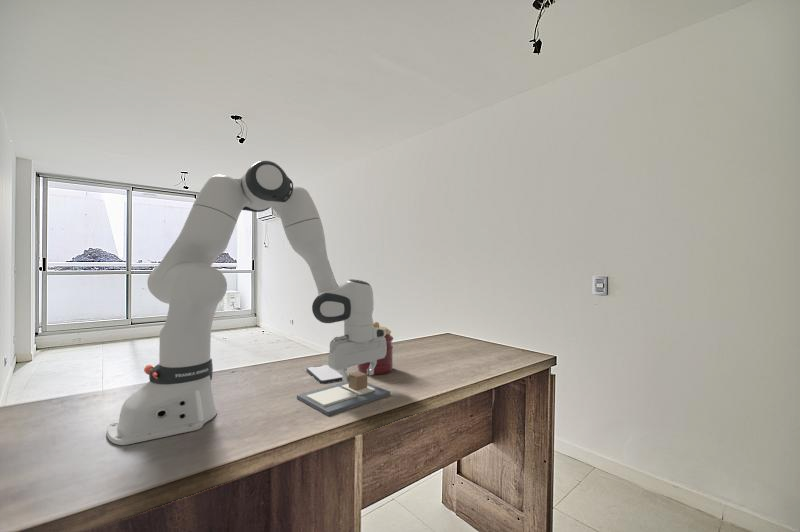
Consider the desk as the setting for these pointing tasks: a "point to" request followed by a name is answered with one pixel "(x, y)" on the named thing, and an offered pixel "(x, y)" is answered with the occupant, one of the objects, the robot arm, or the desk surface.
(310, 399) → the board
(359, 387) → the tan cube with base
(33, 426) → the desk surface
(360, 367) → the canister
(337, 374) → the smartphone
